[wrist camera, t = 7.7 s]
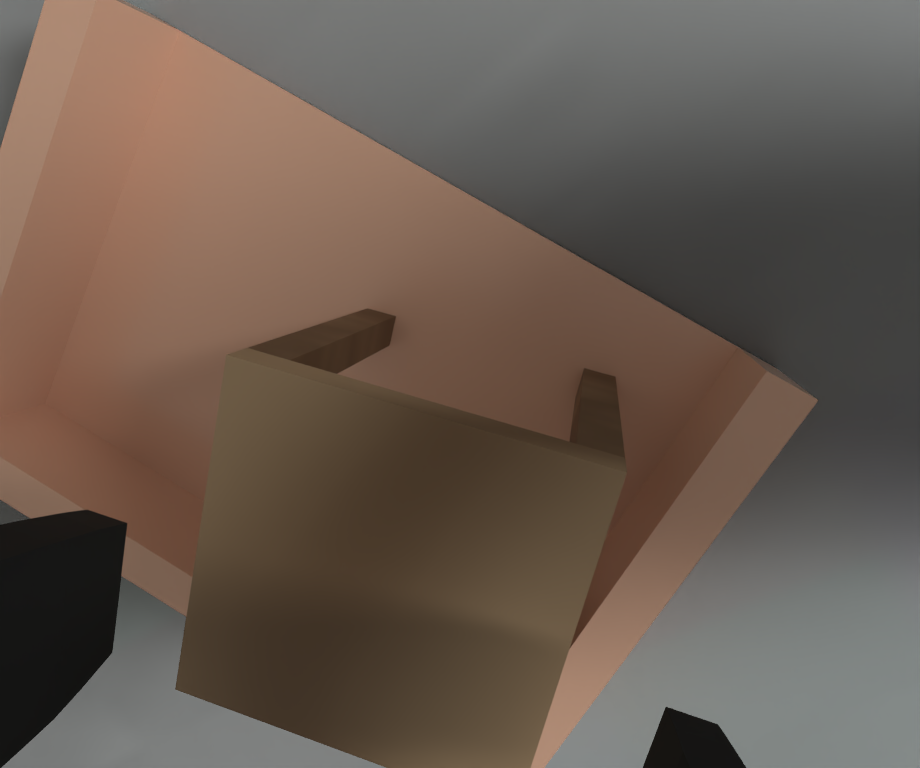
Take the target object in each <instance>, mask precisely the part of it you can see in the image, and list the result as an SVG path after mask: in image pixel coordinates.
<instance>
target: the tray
mask: <svg viewBox="0 0 920 768" xmlns="http://www.w3.org/2000/svg"><path fill="white" fill-rule="evenodd" d="M367 308H368V309H372V310H375V311H379V312H383V313H386V314H390V315H394V316H396V319H395V323H394V328H393V332H392V337H391V342H390V345H389V346H388V347H386V348H384V349H382V350H380V351H378V352H377V353H375V354H373V355H371V356H369V357H367V358H365V359H364V360H362V361H360V362H358V363H356V364H354V365H353V366H351V367H349V368H347V369H345V370H343V371H341V372H340V373H338V374H339V375H342V376H346V377H349V378H352V379H356V380H359V381H363V382H366V383H370V384H373V385H376V386H380V387H383V388H387V389H390V390H394V391H397V392H401V393H404V394H407V395H411V396H414V397H418V398H421V399H425V400H428V401H431V402H435V403H438V404H442V405H445V406H449V407H452V408H455V409H459V410H462V411H466V412H469V413H473V414H476V415H480V416H483V417H486V418H490V419H493V420H497V421H500V422H504V423H507V424H510V425H514V426H517V427H521V428H524V429H528V430H531V431H535V432H538V433H541V434H545V435H548V436H552V437H555V438H559V439H562V440H565V441H569V440H570V433H571V426H572V419H573V411H574V404H575V397H576V394H577V390H578V387H579V384H580V380H581V377H582V374H583V370H584V368H586V369H589V370H593V371H597V372H600V373H604V374H608V375H611V376H615V377H616V385H617V394H618V402H619V410H620V419H621V427H622V435H623V443H624V452H625V460H626V468H627V474H626V477H625V480H624V483H623V486H622V489H621V492H620V495H619V498H618V502H617V505H616V508H615V511H614V514H613V517H612V520H611V523H610V526H609V529H608V532H607V535H606V538H605V541H604V544H603V547H602V551H601V554H600V557H599V560H598V563H597V566H596V569H595V572H594V575H593V578H592V581H591V584H590V587H589V590H588V593H587V596H586V600H585V603H584V606H583V609H582V612H581V615H580V618H579V621H578V624H577V627H576V630H575V633H574V636H573V639H572V642H571V646H570V649H569V652H568V655H567V658H566V661H565V664H564V667H563V670H562V673H561V676H560V679H559V682H558V685H557V688H556V691H555V695H554V698H553V701H552V704H551V707H550V710H549V713H548V716H547V719H546V722H545V725H544V728H543V731H542V734H541V737H540V740H539V744H538V747H537V750H536V753H535V756H534V759H533V762H532V765H531V768H544V767H545V766H546V765H547V763H548V762H549V761H550V759H551V758H552V757H553V755H554V754H555V753H556V751H557V750H558V749H559V747H560V746H561V745H562V743H563V742H564V740H565V739H566V738H567V736H568V735H569V734H570V732H571V731H572V730H573V728H574V727H575V726H576V724H577V723H578V722H579V720H580V719H581V718H582V716H583V715H584V714H585V712H586V711H587V710H588V708H589V707H590V706H591V704H592V703H593V702H594V700H595V699H596V698H597V696H598V695H599V694H600V692H601V691H602V690H603V688H604V687H605V686H606V684H607V683H608V682H609V680H610V679H611V678H612V676H613V675H614V674H615V672H616V671H617V669H618V668H619V667H620V665H621V664H622V663H623V661H624V660H625V659H626V657H627V656H628V655H629V653H630V652H631V651H632V649H633V648H634V647H635V645H636V644H637V643H638V641H639V640H640V639H641V637H642V636H643V635H644V633H645V632H646V631H647V629H648V628H649V627H650V625H651V624H652V623H653V621H654V620H655V619H656V617H657V616H658V615H659V613H660V612H661V611H662V609H663V608H664V607H665V605H666V604H667V603H668V601H669V600H670V598H671V597H672V596H673V594H674V593H675V592H676V590H677V589H678V588H679V586H680V585H681V584H682V582H683V581H684V580H685V578H686V577H687V576H688V574H689V573H690V572H691V570H692V569H693V568H694V566H695V565H696V564H697V562H698V561H699V560H700V558H701V557H702V556H703V554H704V553H705V552H706V550H707V549H708V548H709V546H710V545H711V544H712V542H713V541H714V540H715V538H716V537H717V536H718V534H719V533H720V532H721V530H722V529H723V527H724V526H725V525H726V523H727V522H728V521H729V519H730V518H731V517H732V515H733V514H734V513H735V511H736V510H737V509H738V507H739V506H740V505H741V503H742V502H743V501H744V499H745V498H746V497H747V495H748V494H749V493H750V491H751V490H752V489H753V487H754V486H755V485H756V483H757V482H758V481H759V479H760V478H761V477H762V475H763V474H764V473H765V471H766V470H767V469H768V467H769V466H770V465H771V463H772V462H773V461H774V459H775V458H776V456H777V455H778V454H779V452H780V451H781V450H782V448H783V447H784V446H785V444H786V443H787V442H788V440H789V439H790V438H791V436H792V435H793V434H794V432H795V431H796V430H797V428H798V427H799V426H800V424H801V423H802V422H803V420H804V419H805V418H806V416H807V415H808V414H809V412H810V411H811V410H812V408H813V407H814V406H815V404H816V403H817V402H818V399H816V398H815V397H814V396H812V395H811V394H810V393H808V392H807V391H806V390H804V389H803V388H802V387H801V386H799V385H798V384H797V383H795V382H794V381H793V380H791V379H790V378H789V377H787V376H786V375H785V374H783V373H782V372H781V371H779V370H778V369H777V368H775V367H773V366H771V365H770V364H768V363H766V362H764V361H763V360H761V359H759V358H757V357H755V356H754V355H752V354H750V353H748V352H747V351H745V350H743V349H741V348H740V347H738V346H736V345H734V344H733V343H731V342H729V341H727V340H725V339H724V338H722V337H720V336H718V335H717V334H715V333H713V332H711V331H710V330H708V329H706V328H704V327H702V326H701V325H699V324H697V323H695V322H694V321H692V320H690V319H688V318H687V317H685V316H683V315H681V314H680V313H678V312H676V311H674V310H672V309H671V308H669V307H667V306H665V305H664V304H662V303H660V302H658V301H657V300H655V299H653V298H651V297H650V296H648V295H646V294H644V293H642V292H641V291H639V290H637V289H635V288H634V287H632V286H630V285H628V284H627V283H625V282H623V281H621V280H620V279H618V278H616V277H614V276H612V275H611V274H609V273H607V272H605V271H604V270H602V269H600V268H598V267H597V266H595V265H593V264H591V263H590V262H588V261H586V260H584V259H582V258H581V257H579V256H577V255H575V254H574V253H572V252H570V251H568V250H567V249H565V248H563V247H561V246H560V245H558V244H556V243H554V242H552V241H551V240H549V239H547V238H545V237H544V236H542V235H540V234H538V233H537V232H535V231H533V230H531V229H530V228H528V227H526V226H524V225H522V224H521V223H519V222H517V221H515V220H514V219H512V218H510V217H508V216H507V215H505V214H503V213H501V212H500V211H498V210H496V209H494V208H492V207H491V206H489V205H487V204H485V203H484V202H482V201H480V200H478V199H477V198H475V197H473V196H471V195H470V194H468V193H466V192H464V191H462V190H461V189H459V188H457V187H455V186H454V185H452V184H450V183H448V182H447V181H445V180H443V179H441V178H440V177H438V176H436V175H434V174H432V173H431V172H429V171H427V170H425V169H424V168H422V167H420V166H418V165H417V164H415V163H413V162H411V161H410V160H408V159H406V158H404V157H402V156H401V155H399V154H397V153H395V152H394V151H392V150H390V149H388V148H387V147H385V146H383V145H381V144H380V143H378V142H376V141H374V140H372V139H371V138H369V137H367V136H365V135H364V134H362V133H360V132H358V131H357V130H355V129H353V128H351V127H350V126H348V125H346V124H344V123H342V122H341V121H339V120H337V119H335V118H334V117H332V116H330V115H328V114H327V113H325V112H323V111H321V110H319V109H318V108H316V107H314V106H312V105H311V104H309V103H307V102H305V101H304V100H302V99H300V98H298V97H297V96H295V95H293V94H291V93H289V92H288V91H286V90H284V89H282V88H281V87H279V86H277V85H275V84H274V83H272V82H270V81H268V80H267V79H265V78H263V77H261V76H259V75H258V74H256V73H254V72H252V71H251V70H249V69H247V68H245V67H244V66H242V65H240V64H238V63H237V62H235V61H233V60H231V59H229V58H228V57H226V56H224V55H222V54H221V53H219V52H217V51H215V50H214V49H212V48H210V47H208V46H207V45H205V44H203V43H201V42H199V41H198V40H196V39H194V38H192V37H191V36H189V35H187V34H185V33H184V32H182V31H180V30H178V29H177V28H175V27H173V26H171V25H169V24H168V23H166V22H164V21H162V20H161V19H159V18H157V17H155V16H154V15H152V14H150V13H148V12H146V11H144V10H142V9H140V8H138V7H136V6H134V5H132V4H130V3H128V2H126V1H124V0H45V2H44V5H43V8H42V12H41V15H40V18H39V22H38V25H37V28H36V31H35V35H34V38H33V41H32V45H31V48H30V51H29V55H28V58H27V61H26V65H25V68H24V71H23V75H22V78H21V81H20V85H19V88H18V91H17V95H16V98H15V101H14V105H13V108H12V111H11V115H10V118H9V121H8V125H7V128H6V131H5V135H4V138H3V141H2V145H1V148H0V500H2V501H3V502H5V503H7V504H8V505H10V506H11V507H13V508H14V509H16V510H18V511H19V512H21V513H22V514H24V515H26V516H27V517H29V518H30V519H32V518H37V517H42V516H48V515H53V514H59V513H65V512H72V511H80V510H90V511H93V512H96V513H99V514H102V515H105V516H108V517H111V518H114V519H117V520H120V521H123V522H126V523H127V531H126V540H125V548H124V557H123V565H122V574H121V576H122V577H124V578H126V579H127V580H129V581H130V582H132V583H133V584H135V585H137V586H138V587H140V588H141V589H143V590H145V591H146V592H148V593H149V594H151V595H153V596H154V597H156V598H157V599H159V600H160V601H162V602H164V603H165V604H167V605H168V606H170V607H172V608H173V609H175V610H176V611H178V612H179V613H181V614H183V615H184V616H187V609H188V603H189V596H190V590H191V583H192V577H193V570H194V564H195V557H196V550H197V544H198V537H199V531H200V524H201V518H202V511H203V504H204V498H205V491H206V485H207V478H208V472H209V465H210V458H211V452H212V445H213V439H214V432H215V426H216V419H217V412H218V406H219V399H220V393H221V386H222V380H223V373H224V366H225V360H226V355H227V354H230V353H233V352H236V351H239V350H242V349H245V348H248V347H251V346H254V345H257V344H260V343H263V342H266V341H269V340H272V339H275V338H279V337H282V336H285V335H288V334H291V333H294V332H297V331H300V330H303V329H306V328H309V327H312V326H315V325H318V324H321V323H324V322H327V321H330V320H333V319H336V318H339V317H342V316H345V315H349V314H352V313H355V312H358V311H361V310H364V309H367Z"/></svg>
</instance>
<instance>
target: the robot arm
mask: <svg viewBox="0 0 920 768" xmlns="http://www.w3.org/2000/svg"><path fill="white" fill-rule="evenodd" d="M126 531H127V523H126V522H123V521H120V520H117V519H114V518H111V517H108V516H105V515H102V514H99V513H96V512H93V511H90V510H80V511H72V512H65V513H59V514H53V515H48V516H42V517H37V518H32V519H27V520H22V521H17V522H12V523H7V524H3V525H0V768H1V767H2V766H3V765H5V764H6V763H7V762H8V761H9V760H10V759H11V758H12V757H13V756H14V755H15V754H17V753H18V752H19V751H20V750H21V749H22V748H23V747H24V746H25V745H26V744H28V743H29V742H30V741H31V740H32V739H33V738H34V737H35V736H36V735H37V734H38V733H39V732H41V731H42V730H43V729H44V728H45V727H46V726H47V725H48V724H49V723H50V722H51V721H52V720H53V719H54V718H55V717H56V716H57V715H58V714H59V713H60V712H61V711H62V710H63V708H64V707H65V706H66V705H67V704H68V703H69V702H70V701H71V700H72V699H73V697H74V696H75V695H76V694H77V693H78V692H79V691H80V690H81V689H82V687H83V686H84V685H85V684H86V683H87V682H88V680H89V679H90V678H91V677H92V676H93V674H94V673H95V672H96V671H97V670H98V669H99V667H100V666H101V665H102V664H103V663H104V662H105V660H106V659H107V658H108V657H109V656H110V654H111V653H112V650H113V641H114V633H115V625H116V616H117V608H118V599H119V591H120V582H121V574H122V565H123V557H124V548H125V540H126ZM643 768H746V767H745V765H744V764H743V762H742V760H741V759H740V757H739V756H738V754H737V753H736V751H735V749H734V748H733V746H732V745H731V743H730V742H729V740H728V739H727V737H726V736H725V734H724V733H723V731H722V730H721V728H720V727H719V725H718V724H715V723H712V722H709V721H706V720H703V719H700V718H697V717H694V716H691V715H688V714H686V713H683V712H680V711H677V710H674V709H671V708H668V707H666V708H665V711H664V713H663V716H662V718H661V721H660V724H659V726H658V729H657V732H656V734H655V737H654V740H653V742H652V745H651V747H650V750H649V753H648V755H647V758H646V761H645V763H644V766H643Z"/></svg>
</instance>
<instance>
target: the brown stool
mask: <svg viewBox="0 0 920 768" xmlns="http://www.w3.org/2000/svg"><path fill="white" fill-rule="evenodd" d="M395 319H396V316H394V315H390V314H386V313H383V312H379V311H375V310H372V309H368V308H367V309H364V310H361V311H358V312H355V313H352V314H349V315H345V316H342V317H339V318H336V319H333V320H330V321H327V322H324V323H321V324H318V325H315V326H312V327H309V328H306V329H303V330H300V331H297V332H294V333H291V334H288V335H285V336H282V337H279V338H275V339H272V340H269V341H266V342H263V343H260V344H257V345H254V346H251V347H248V348H245V349H242V350H239V351H236V352H233V353H230V354H227V355H226V360H225V366H224V373H223V380H222V386H221V393H220V399H219V406H218V412H217V419H216V426H215V432H214V439H213V445H212V452H211V458H210V465H209V472H208V478H207V485H206V491H205V498H204V504H203V511H202V518H201V524H200V531H199V537H198V544H197V550H196V557H195V564H194V570H193V577H192V583H191V590H190V596H189V603H188V609H187V616H186V623H185V629H184V636H183V642H182V649H181V655H180V662H179V669H178V675H177V682H176V688H175V689H176V690H178V691H181V692H184V693H186V694H189V695H192V696H195V697H197V698H200V699H203V700H205V701H208V702H211V703H214V704H216V705H219V706H222V707H224V708H227V709H230V710H232V711H235V712H238V713H241V714H243V715H246V716H249V717H251V718H254V719H257V720H259V721H262V722H265V723H268V724H270V725H273V726H276V727H278V728H281V729H284V730H286V731H289V732H292V733H295V734H297V735H300V736H303V737H305V738H308V739H311V740H314V741H316V742H319V743H322V744H324V745H327V746H330V747H332V748H335V749H338V750H341V751H343V752H346V753H349V754H351V755H354V756H357V757H359V758H362V759H365V760H368V761H370V762H373V763H376V764H378V765H381V766H384V767H387V768H531V765H532V762H533V759H534V756H535V753H536V750H537V747H538V744H539V740H540V737H541V734H542V731H543V728H544V725H545V722H546V719H547V716H548V713H549V710H550V707H551V704H552V701H553V698H554V695H555V691H556V688H557V685H558V682H559V679H560V676H561V673H562V670H563V667H564V664H565V661H566V658H567V655H568V652H569V649H570V646H571V642H572V639H573V636H574V633H575V630H576V627H577V624H578V621H579V618H580V615H581V612H582V609H583V606H584V603H585V600H586V596H587V593H588V590H589V587H590V584H591V581H592V578H593V575H594V572H595V569H596V566H597V563H598V560H599V557H600V554H601V551H602V547H603V544H604V541H605V538H606V535H607V532H608V529H609V526H610V523H611V520H612V517H613V514H614V511H615V508H616V505H617V502H618V498H619V495H620V492H621V489H622V486H623V483H624V480H625V477H626V474H627V468H626V460H625V452H624V443H623V435H622V427H621V419H620V410H619V402H618V394H617V385H616V377H615V376H611V375H608V374H604V373H600V372H597V371H593V370H589V369H586V368H584V370H583V374H582V377H581V380H580V384H579V387H578V390H577V394H576V397H575V404H574V411H573V419H572V426H571V433H570V440H569V441H565V440H562V439H559V438H555V437H552V436H548V435H545V434H541V433H538V432H535V431H531V430H528V429H524V428H521V427H517V426H514V425H510V424H507V423H504V422H500V421H497V420H493V419H490V418H486V417H483V416H480V415H476V414H473V413H469V412H466V411H462V410H459V409H455V408H452V407H449V406H445V405H442V404H438V403H435V402H431V401H428V400H425V399H421V398H418V397H414V396H411V395H407V394H404V393H401V392H397V391H394V390H390V389H387V388H383V387H380V386H376V385H373V384H370V383H366V382H363V381H359V380H356V379H352V378H349V377H346V376H342V375H339V374H338V373H340V372H341V371H343V370H345V369H347V368H349V367H351V366H353V365H354V364H356V363H358V362H360V361H362V360H364V359H365V358H367V357H369V356H371V355H373V354H375V353H377V352H378V351H380V350H382V349H384V348H386V347H388V346H389V345H390V342H391V337H392V332H393V328H394V323H395Z"/></svg>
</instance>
